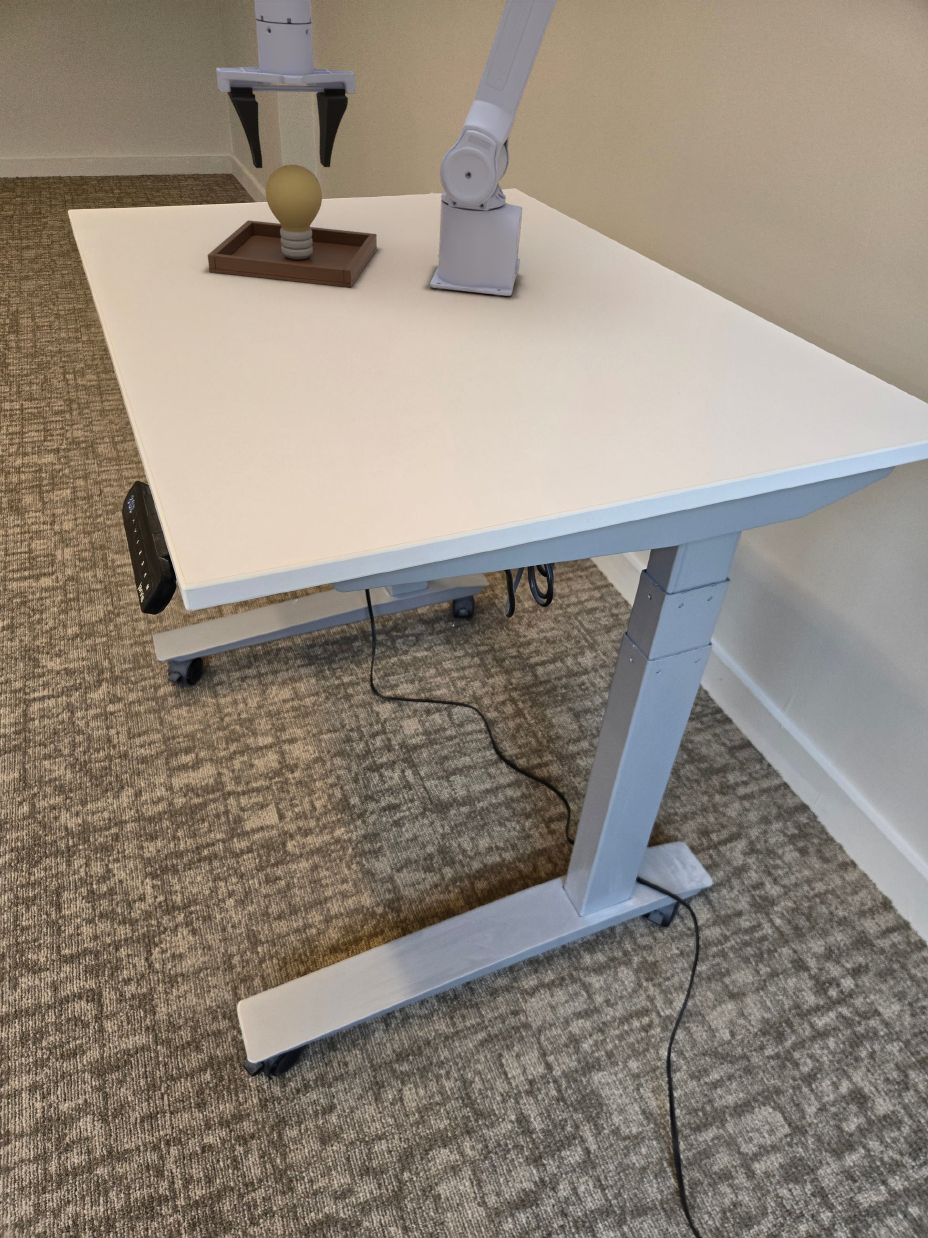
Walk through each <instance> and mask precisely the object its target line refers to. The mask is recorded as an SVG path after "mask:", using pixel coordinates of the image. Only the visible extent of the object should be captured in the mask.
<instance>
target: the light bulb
mask: <svg viewBox="0 0 928 1238" xmlns="http://www.w3.org/2000/svg"><path fill="white" fill-rule="evenodd" d="M265 199H266V203H267V205H268V208H269V209H270V212H271V213H272V215H273V216H274V217H275V219H276V220H277V221H278V222H279V224H281V226H282V228H281V229H280V235H281V244H282V246H281V251H282V253H283V254H284V255H285V256H286V257H287V258H290V259H306V258H308V257H309V256H310V255H311V254H312V253H313V247H312V243H313V242H312V238H311V237H312V230H311V229H310V227H311V225H312V223H313V221H314V220H315V219H316V218H317V215H318V214H319V212H320V209H321V206H322V204H323V203H322V202H323V193H322V187H321V184H320V182H319V180H318V177H317V176H316V175H315V174H314V173H313V172H312V171H311V170H309V169H308V168H307V167H304V166H301V165H298V164H285V165H281V166H279V167H277V168H276V169H275V170H273V172H271V174H270V175H269V177H268V179H267V181H266V185H265Z"/></svg>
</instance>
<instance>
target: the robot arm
mask: <svg viewBox="0 0 928 1238" xmlns="http://www.w3.org/2000/svg"><path fill="white" fill-rule="evenodd" d="M253 1H254V16H255V27H256V28H255V29H256V44H257V56H258V57H257V59H258V66H244V67H216V68H215V73H216V82H217V89H218V91H219V92H221V93H227V95H228V97H229V99H230V102H231V103H232V105H233V108H234V110H235V112H236V115H237V116H238V118H239V121H240V124H241V126H242V128H243V129H242V130H243V131H244V134H245V137H246V140H247V143H248V146H249V150H250V154H251V161H252V165H253V166H254V167H255V168H256V169H263V153H262V147H261V140H260V126H259V125H260V124H259V123H260V122H259V102H258V101H257V100H256V94H254V92H281V93H282V92H283V93H284V92H285V93H287V92H288V93H290V92H291V93H293V92H294V93H301V92H302V93H316V94H315V97H316V104H317V113H318V114H317V115H318V126H319V150H318V151H319V152H318V153H319V162H320V163H319V164H320V165H322V166H323V168H330V167H331V162H332V155H333V149H334V144H335V140H336V137H337V133H338V130H339V128H340V125H341V122H342V119H343V117H344V116H345V115H344V114H345V113H346V111H347V108H348V105H349V97H348V96H347V94H348V95H355V94H356V73H355V72H353V71H352V70H344V69H343V70H342V69H327V68H315V67H314V47H313V46H314V45H313V44H314V43H313V22H312V0H253ZM557 2H558V0H506V1H505V5H504V7H503V10H502V14H501V16H500V20H499V23H498V26H497V30H496V32H495V34H494V38H493V41H492V45H491V47H490V50H489V52H488V56H487V60H486V61H485V65H484V67H483V68H484V69H483V72H482V74H481V77H480V81H479V83H478V86H477V90H476V93H475V96H474V98H473V102H472V103H471V106H470V108H469V111H468V113H467V116H466V118H465V120H464V122H463V124H462V128H461V130H460V134H459V135H460V136H459V135H458V139H457V140H456V142H455V143H454V144H452V146H450V148H449V149H448V150H446V152H445V153H444V155H443V157H442V159H441V161H440V162H441V163H440V167H439V178H440V184H441V186H442V188H443V190H444V191H442V192H441V197H440V198H441V199H440V219H439V238H438V239H439V241H438V260H437V261H438V263H437V264H438V266H437V268H436V270H435V272H434V274H433V276H432V278H431V281H430V283H429V286H430V288H433V289H442V290H451V291H459V292H460V291H461V292H469V293H478V294H487V295H495V296H504V297H505V296H507V297H510V296H512V294H513V291H514V286H515V283H516V278H517V276H518V275H519V271H520V262H521V259H520V258H519V249H520V240H521V230H522V220H523V207H522V206H520V205H516V204H515V205H514V204H511V203H507V202H506V199H507V198H506V194H504V191H503V189H502V187H501V185H500V184H499V185H498V182H499V183H500V181H501V180H502V179H503V177H504V176H505V175H506V172H507V170H508V167H509V164H510V163H509V162H510V151H509V142H510V138H511V135H512V131H513V128H514V125H515V121H516V117H517V113H518V110H519V107H520V104H521V102H522V99H523V96H524V93H525V90H526V88H527V86H528V82H529V79H530V77H531V74H532V72H533V69H534V67H535V66H534V65H535V63H536V60H537V57H538V55H539V52H540V49H541V46H542V44H543V41H544V38H545V36H546V32H547V30H548V27H549V24H550V22H551V18H552V16H553V13H554V10H555V8H556V6H557Z"/></svg>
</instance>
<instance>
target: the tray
mask: <svg viewBox="0 0 928 1238" xmlns="http://www.w3.org/2000/svg"><path fill="white" fill-rule="evenodd" d="M281 228H282V226H281V224H280V223H277V222H269V221H259V220H247V221H246V222H244V223H243V224H242V225H241V226H240V227H238V228H237V229H236V230H235V231H234V232H233V233H232V234H229V236H228V237H227V238H226V239H224V240H223V241H222V242H221V243H219V245H218V246H216V247H215V248H214V249H213V250H212V251H210V252H209V253H208V254H207V262H208V272H209V273H216V274H225V275H234V276H243V277H253V278H261V279H271V280H280V281H287V282H288V281H289V282H298V283H306V284H315V285H323V286H324V285H325V286H335V287H343V288H344V287H345V288H352V286H353V285H354V284H355V282H357V279H358V278H359V276H360V275H361V274H362V272H363V271H364V269H365V267H366V266H367V264H368V263H369V261H370V260H371V259H372V257H373V255H374V254H375V253H376V251H377V249H378V246H377V245H378V244H377V243H378V241H377V240H378V239H377V238H378V237H377V236H378V235H377V233H370V232H362V231H353V230H352V231H351V230H342V229H335V228H324V227H314V226H310V229H311V230H312V237H311V238H312V242H313V243H312V247H313V253H312V254H311V255H310V256H309V257H308V258H306V259H290V258H287V257H286V256H285V255H284V254H283V253H282V251H281V246H282V244H281V235H280V229H281Z"/></svg>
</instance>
